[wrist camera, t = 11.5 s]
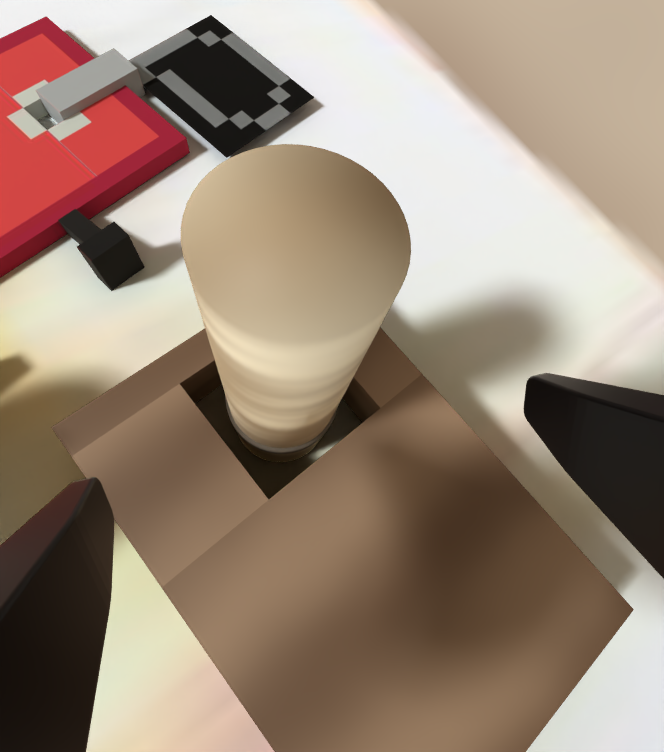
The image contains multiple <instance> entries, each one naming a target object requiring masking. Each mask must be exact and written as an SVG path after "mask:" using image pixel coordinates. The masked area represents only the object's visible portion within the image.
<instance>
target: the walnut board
mask: <svg viewBox="0 0 664 752" xmlns="http://www.w3.org/2000/svg"><path fill="white" fill-rule="evenodd" d="M221 385H222V382H221V379H220V375H219V372H218V369H217V365H216V362H215V359H214V355H213V352H212V349H211V346H210V342H209V339H208V336H207V332H206V329H203V330H202V331H200V332H199V333H197V334H196V335H194V336H193V337H191V338H189V339H188V340H186V341H185V342H183V343H182V344H180V345H179V346H177V347H175V348H174V349H172V350H171V351H169V352H168V353H166V354H165V355H163V356H161V357H160V358H158V359H157V360H155V361H154V362H152V363H151V364H149V365H147V366H146V367H144V368H143V369H141V370H140V371H138V372H136V373H135V374H133V375H132V376H130V377H129V378H127V379H126V380H124V381H122V382H121V383H119V384H118V385H116V386H115V387H113V388H112V389H110V390H108V391H107V392H105V393H104V394H102V395H101V396H99V397H98V398H96V399H94V400H93V401H91V402H90V403H88V404H87V405H85V406H84V407H82V408H80V409H79V410H77V411H76V412H74V413H73V414H71V415H70V416H68V417H66V418H65V419H63V420H62V421H60V422H59V423H57V424H56V425H54V426H52V427H51V428H52V429H53V431H54V432H55V434H56V435H57V437H58V438H59V439H60V441H61V442H62V444H63V445H64V447H65V448H66V450H67V451H68V453H69V454H70V455H71V457H72V458H73V460H74V461H75V463H76V464H77V466H78V467H79V468H80V470H81V471H82V473H83V474H84V476H85V477H86V478H90V477H96V478H98V479H99V480H100V482H101V484H102V486H103V489H104V491H105V494H106V496H107V499H108V501H109V503H110V506H111V508H112V511H113V515H114V519H115V521H116V522H117V524H118V525H119V527H120V528H121V529H122V531H123V532H124V534H125V535H126V537H127V538H128V540H129V541H130V542H131V544H132V545H133V547H134V548H135V550H136V551H137V553H138V554H139V556H140V557H141V558H142V560H143V561H144V563H145V564H146V566H147V567H148V569H149V570H150V571H151V573H152V574H153V576H154V577H155V579H156V580H157V582H158V583H159V585H160V586H161V587H162V589H163V590H164V592H165V593H166V595H167V596H168V598H169V599H170V600H171V602H172V603H173V605H174V606H175V608H176V609H177V611H178V612H179V614H180V615H181V616H182V618H183V619H184V621H185V622H186V624H187V625H188V627H189V628H190V629H191V631H192V632H193V634H194V635H195V637H196V638H197V640H198V641H199V643H200V644H201V645H202V647H203V648H204V650H205V651H206V653H207V654H208V656H209V657H210V659H211V660H212V661H213V663H214V664H215V666H216V667H217V669H218V670H219V672H220V673H221V674H222V676H223V677H224V679H225V680H226V682H227V683H228V685H229V686H230V688H231V689H232V690H233V692H234V693H235V695H236V696H237V698H238V699H239V701H240V702H241V703H242V705H243V706H244V708H245V709H246V711H247V712H248V714H249V715H250V717H251V718H252V719H253V721H254V722H255V724H256V725H257V727H258V728H259V730H260V731H261V732H262V734H263V735H264V737H265V738H266V740H267V741H268V743H269V744H270V746H271V747H272V748H273V750H274V751H275V752H526V751H527V749H528V748H529V747H530V745H531V744H532V743H533V741H534V740H535V739H536V737H537V736H538V735H539V733H540V732H541V731H542V730H543V728H544V727H545V726H546V724H547V723H548V722H549V720H550V719H551V718H552V716H553V715H554V714H555V712H556V711H557V710H558V708H559V707H560V706H561V705H562V703H563V702H564V701H565V699H566V698H567V697H568V695H569V694H570V693H571V691H572V690H573V689H574V687H575V686H576V685H577V684H578V682H579V681H580V680H581V678H582V677H583V676H584V674H585V673H586V672H587V670H588V669H589V668H590V666H591V665H592V664H593V662H594V661H595V660H596V659H597V657H598V656H599V655H600V653H601V652H602V651H603V649H604V648H605V647H606V645H607V644H608V643H609V641H610V640H611V639H612V638H613V636H614V635H615V634H616V632H617V631H618V630H619V628H620V627H621V626H622V624H623V623H624V622H625V620H626V619H627V618H628V616H629V615H630V614H631V613H632V611H633V610H634V609H633V608H632V607H631V606H630V605H629V604H628V603H627V602H626V600H625V599H624V598H623V597H622V596H621V595H620V594H619V593H618V592H617V590H616V589H615V588H614V587H613V586H612V585H611V584H610V583H609V582H608V580H607V579H606V578H605V577H604V576H603V575H602V574H601V573H600V571H599V570H598V569H597V568H596V567H595V566H594V565H593V564H592V563H591V561H590V560H589V559H588V558H587V557H586V556H585V555H584V554H583V553H582V551H581V550H580V549H579V548H578V547H577V546H576V545H575V544H574V543H573V541H572V540H571V539H570V538H569V537H568V536H567V535H566V534H565V533H564V531H563V530H562V529H561V528H560V527H559V526H558V525H557V524H556V522H555V521H554V520H553V519H552V518H551V517H550V516H549V515H548V514H547V512H546V511H545V510H544V509H543V508H542V507H541V506H540V505H539V504H538V502H537V501H536V500H535V499H534V498H533V497H532V496H531V495H530V494H529V492H528V491H527V490H526V489H525V488H524V487H523V486H522V485H521V484H520V482H519V481H518V480H517V479H516V478H515V477H514V476H513V475H512V474H511V472H510V471H509V470H508V469H507V468H506V467H505V466H504V465H503V463H502V462H501V461H500V460H499V459H498V458H497V457H496V456H495V455H494V453H493V452H492V451H491V450H490V449H489V448H488V447H487V446H486V445H485V443H484V442H483V441H482V440H481V439H480V438H479V437H478V436H477V435H476V433H475V432H474V431H473V430H472V429H471V428H470V427H469V426H468V425H467V423H466V422H465V421H464V420H463V419H462V418H461V417H460V416H459V414H458V413H457V412H456V411H455V410H454V409H453V408H452V407H451V406H450V404H449V403H448V402H447V401H446V400H445V399H444V398H443V397H442V396H441V394H440V393H439V392H438V391H437V390H436V389H435V388H434V387H433V386H432V384H431V383H430V382H429V381H428V380H427V379H426V378H425V377H424V376H423V374H422V373H421V372H420V371H419V370H418V369H417V368H416V367H415V365H414V364H413V363H412V362H411V361H410V360H409V359H408V358H407V357H406V355H405V354H404V353H403V352H402V351H401V350H400V349H399V348H398V347H397V345H396V344H395V343H394V342H393V341H392V340H391V339H390V338H389V337H388V335H387V334H386V333H385V332H384V331H383V330H382V329H381V328H379V330H378V332H377V334H376V335H375V337H374V339H373V341H372V343H371V345H370V347H369V349H368V350H367V352H366V354H365V356H364V358H363V360H362V362H361V364H360V365H359V367H358V369H357V371H356V373H355V375H354V377H353V379H352V380H351V382H350V384H349V386H348V388H347V390H346V392H345V394H344V395H343V397H342V399H343V400H344V401H345V402H346V403H347V405H348V406H349V407H350V408H351V409H352V411H353V412H354V413H355V414H356V415H357V416H358V418H359V419H360V420H361V421H362V422H363V423H362V424H360V425H359V426H358V427H357V428H356V429H354V430H353V431H352V432H351V433H349V434H348V435H347V436H346V437H345V438H343V439H342V440H341V441H340V442H338V443H337V444H336V445H335V446H334V447H332V448H331V449H330V450H329V451H327V452H326V453H325V454H324V455H323V456H321V457H320V458H319V459H318V460H316V461H315V462H314V463H313V464H312V465H310V466H309V467H308V468H307V469H306V470H304V471H303V472H302V473H301V474H299V475H298V476H297V477H296V478H295V479H293V480H292V481H291V482H290V483H288V484H287V485H286V486H285V487H284V488H282V489H281V490H280V491H279V492H277V493H276V494H275V495H274V496H273V497H271V498H270V499H268V498H267V497H266V496H265V494H264V493H263V492H262V490H261V489H260V488H259V486H258V485H257V484H256V483H255V481H254V480H253V479H252V477H251V476H250V475H249V473H248V472H247V471H246V470H245V468H244V467H243V466H242V464H241V463H240V462H239V460H238V459H237V458H236V457H235V455H234V454H233V453H232V451H231V450H230V449H229V448H228V446H227V445H226V444H225V442H224V441H223V440H222V438H221V437H220V436H219V435H218V433H217V432H216V431H215V429H214V428H213V427H212V425H211V424H210V423H209V422H208V420H207V419H206V418H205V416H204V415H203V414H202V412H201V411H200V410H199V409H198V407H197V406H196V405H195V403H196V402H198V401H199V400H201V399H202V398H204V397H205V396H206V395H208V394H209V393H211V392H212V391H214V390H215V389H216V388H218V387H219V386H221Z"/></svg>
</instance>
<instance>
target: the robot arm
mask: <svg viewBox="0 0 664 752" xmlns="http://www.w3.org/2000/svg"><path fill="white" fill-rule="evenodd" d="M524 414H525V417H526V419H527V421H528V422H529V423H530V425H531V426H532V427H533V429H534V430H535V431H536V433H537V434H538V435H539V437H540V438H541V439H542V441H543V442H544V443H545V445H546V446H547V448H548V449H549V450H550V452H551V453H552V454H553V456H554V457H555V458H556V460H557V461H558V462H559V463H560V465H561V466H562V467H563V469H564V470H565V471H566V472H567V473H568V474H569V476H570V477H571V478H572V479H573V480H574V481H575V482H576V483H577V485H578V486H579V487H580V488H581V489H582V490H583V491H584V492H585V493H586V494H587V495H588V497H589V498H590V499H591V500H592V501H593V502H594V503H595V504H596V505H597V506H598V507H599V509H600V510H601V511H602V512H603V513H604V514H605V515H606V516H607V517H608V518H609V519H610V521H611V522H612V523H613V524H614V525H615V526H616V527H617V528H618V529H619V530H620V531H621V533H622V534H623V535H624V536H625V537H626V538H627V539H628V540H629V541H630V542H631V543H632V545H633V546H634V547H635V548H636V549H637V550H638V551H639V552H640V553H641V554H642V556H643V557H644V558H645V559H646V560H647V561H648V562H649V563H650V564H651V565H652V566H653V568H654V569H655V570H656V571H657V572H658V573H659V574H660V575H661V576H662V577H663V578H664V395H659V394H654V393H649V392H644V391H639V390H633V389H628V388H623V387H618V386H613V385H607V384H602V383H597V382H592V381H587V380H581V379H576V378H571V377H566V376H561V375H555V374H550V373H544V374H539V375H535V376H532V377H530V378H529V379H528V381H527V384H526V392H525V401H524ZM113 542H114V515H113V511H112V508H111V506H110V503H109V501H108V499H107V496H106V494H105V491H104V489H103V486H102V484H101V482H100V480H99V479H98V478H96V477H90V478H86V479H81V480H77V481H74V482H72V483H70V484H69V485H68V486H67V487H66V488H65V489H64V490H62V491H61V492H60V493H59V494H58V495H57V496H56V497H55V498H53V499H52V500H51V501H50V502H49V503H48V504H47V505H46V506H44V507H43V508H42V509H41V510H40V511H39V512H38V513H37V514H35V515H34V516H33V517H32V518H31V519H30V520H29V521H28V522H26V523H25V524H24V525H23V526H22V527H21V528H20V529H19V530H17V531H16V532H15V533H14V534H13V535H12V536H11V537H10V538H8V539H7V540H6V541H5V542H4V543H3V544H2V545H1V546H0V752H86V748H87V742H88V736H89V730H90V724H91V718H92V712H93V706H94V700H95V694H96V688H97V682H98V676H99V670H100V664H101V658H102V652H103V646H104V640H105V634H106V628H107V622H108V616H109V609H110V602H111V590H112V567H113Z"/></svg>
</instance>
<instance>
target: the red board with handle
mask: <svg viewBox="0 0 664 752" xmlns="http://www.w3.org/2000/svg"><path fill="white" fill-rule="evenodd" d="M143 86H144V87H145V88H146V89H148V90H149V91H150V92H151V93H152V94H153V95H154V96H156V97H157V98H158V99H159V100H160V101H161V102H163V103H164V104H165V105H166V106H167V107H168V108H170V109H171V110H172V111H173V112H174V113H175V114H177V115H178V116H179V117H180V118H181V119H182V120H184V121H185V122H186V123H187V124H188V125H189V126H191V127H192V128H193V129H194V130H195V131H196V132H198V133H199V134H200V135H201V136H202V137H203V138H205V139H206V140H207V141H208V142H209V143H210V144H211V145H213V146H214V147H215V148H216V149H217V150H218V151H220V152H221V153H222V154H223V155H224V156H225V157H228V156H230V155H231V154H233V153H234V152H236V151H237V150H239V149H240V148H242V147H243V146H244V145H246V144H247V143H249V142H250V141H252V140H253V139H255V138H256V137H257V136H259V135H260V134H262V133H263V132H265V131H266V130H268V129H269V128H270V127H272V126H273V125H275V124H276V123H278V122H279V121H281V120H282V119H284V118H285V117H286V116H288V115H289V114H291V113H292V112H294V111H295V110H297V109H298V108H299V107H301V106H302V105H304V104H305V103H307V102H308V101H310V100H311V99H313V98H314V97H313V96H312V95H311V94H309V93H308V92H307V91H306V90H304V89H303V88H302V87H301V86H299V85H298V84H297V83H296V82H294V81H293V80H292V79H291V78H289V77H288V76H287V75H286V74H284V73H283V72H282V71H281V70H279V69H278V68H277V67H276V66H274V65H273V64H272V63H271V62H269V61H268V60H267V59H266V58H264V57H263V56H262V55H261V54H259V53H258V52H257V51H255V50H254V49H253V48H252V47H250V46H249V45H248V44H247V43H245V42H244V41H243V40H242V39H240V38H239V37H238V36H237V35H235V34H234V33H233V32H232V31H230V30H229V29H228V28H227V27H225V26H224V25H223V24H222V23H220V22H219V21H218V20H217V19H215V18H214V17H213V16H212V15H210V16H209V17H207V18H205V19H203V20H201V21H199V22H198V23H196V24H194V25H192V26H190V27H189V28H187V29H185V30H183V31H181V32H180V33H178V34H176V35H174V36H172V37H170V38H169V39H167V40H165V41H163V42H161V43H160V44H158V45H156V46H154V47H152V48H151V49H149V50H147V51H145V52H143V53H141V54H140V55H138V56H136V57H134V58H132V59H131V60H129V61H128V60H127V59H126V58H125V57H123V56H122V55H121V54H120V53H119V52H118V51H116V50H115V49H114V48H113V49H112V50H110V51H108V52H106V53H104V54H102V55H100V56H98V57H97V58H94V57H92V56H91V55H90V54H89V53H88V52H87V51H85V50H84V49H83V48H82V47H81V46H80V45H79V44H77V43H76V42H75V41H74V40H73V39H72V38H70V37H69V36H68V35H67V34H66V33H65V32H64V31H62V30H61V29H60V28H59V27H58V26H57V25H55V24H54V23H53V22H52V21H51V20H50V19H49V18H47V17H44V18H42V19H40V20H38V21H36V22H34V23H32V24H29V25H27V26H25V27H23V28H21V29H19V30H17V31H15V32H13V33H11V34H9V35H7V36H5V37H2V38H0V278H1V277H2V276H4V275H5V274H7V273H8V272H10V271H11V270H13V269H14V268H16V267H18V266H19V265H21V264H22V263H24V262H25V261H27V260H28V259H30V258H31V257H33V256H35V255H36V254H38V253H39V252H41V251H42V250H44V249H45V248H47V247H48V246H50V245H51V244H53V243H54V242H56V241H57V240H59V239H60V238H62V237H63V236H65V235H66V234H69V235H70V236H71V237H72V238H73V239H74V240H75V241H77V242H78V243H79V244H80V245H79V246H77V248H78V250H79V251H80V252H81V254H82V255H83V257H84V258H85V260H86V261H87V262H88V264H89V265H90V267H91V268H92V270H93V271H94V272H95V274H96V275H97V277H98V278H99V279H100V280H101V281H102V282H103V283H104V284H105V285H106V286H107V287H108V288H109V289H110V290H111V291H112V290H114V289H115V288H116V287H118V286H119V285H121V284H122V283H123V282H125V281H126V280H128V279H129V278H130V277H132V276H133V275H134V274H136V273H137V272H139V271H140V270H141V269H143V268H144V265H143V263H142V261H141V259H140V257H139V255H138V253H137V251H136V249H135V247H134V245H133V243H132V241H131V239H130V237H129V235H128V234H127V233H126V232H125V231H124V230H122V229H121V228H120V227H119V226H118V225H117V224H116V223H115V222H113V223H111V224H110V225H108V226H107V227H105V228H104V229H102V230H101V229H100V228H98V227H97V226H96V225H95V224H94V223H92V222H91V221H90V220H89V219H90V218H92V217H93V216H95V215H96V214H98V213H99V212H101V211H102V210H104V209H105V208H107V207H108V206H110V205H111V204H113V203H114V202H116V201H117V200H119V199H121V198H122V197H124V196H125V195H127V194H128V193H130V192H131V191H133V190H134V189H136V188H137V187H139V186H140V185H142V184H143V183H145V182H146V181H148V180H149V179H151V178H152V177H154V176H155V175H157V174H158V173H160V172H161V171H163V170H164V169H166V168H167V167H169V166H170V165H172V164H173V163H175V162H176V161H178V160H179V159H181V158H182V157H184V156H185V155H187V154H188V153H190V151H189V147H188V143H187V139H186V137H185V136H183V135H182V134H181V133H180V132H179V131H178V130H177V129H175V128H174V127H173V126H172V125H171V124H170V123H168V122H167V121H166V120H165V119H164V118H163V117H162V116H160V115H159V114H158V113H157V112H156V111H155V110H153V109H152V108H151V107H150V106H149V105H148V104H147V103H145V102H144V101H143V100H142V99H141V98H140V97H141V96H143V95H145V92H144V89H143ZM48 114H49V115H50V116H51V117H52V118H53V119H54V120H55V121H56V122H57V123H58V124H57V125H55V126H53V127H51V128H50V129H48V130H47V129H46V128H45V127H44V126H43V125H42V124H41V123H39V122H38V121H37V120H39V119H41V118H43V117H45V116H47V115H48Z"/></svg>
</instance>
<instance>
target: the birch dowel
mask: <svg viewBox="0 0 664 752" xmlns="http://www.w3.org/2000/svg"><path fill="white" fill-rule="evenodd" d="M181 246H182V252H183V257H184V260H185V263H186V267H187V270H188V273H189V276H190V280H191V283H192V286H193V290H194V293H195V296H196V299H197V303H198V306H199V309H200V313H201V316H202V319H203V323H204V326H205V329H206V332H207V336H208V339H209V342H210V346H211V349H212V352H213V355H214V359H215V362H216V365H217V369H218V372H219V375H220V379H221V382H222V385H223V388H224V392H225V398H226V407H227V411H228V414H229V417H230V420H231V422H232V424H233V427H234V428H235V430H236V431H237V434H238V436H239V438H240V440H241V442H242V443H243V445H244V446H245V447H246V448H247V449H248V450H249V451H250V452H251V453H253V454H254V455H256V456H257V457H259V458H262V459H264V460H267V461H272V462H288V461H293V460H296V459H298V458H300V457H302V456H304V455H306V454H307V453H309V452H310V451H311V450H312V449H313V448H314V447H315V446H316V445H317V443H318V442H319V440H320V439H321V437H322V436H323V435H324V434H325V433H326V432H327V430H328V429H329V427H330V425H331V424H332V422H333V420H334V417H335V415H336V412H337V408H338V405H339V403H340V401H341V399H342V397H343V395H344V394H345V392H346V390H347V388H348V386H349V384H350V382H351V380H352V379H353V377H354V375H355V373H356V371H357V369H358V367H359V365H360V364H361V362H362V360H363V358H364V356H365V354H366V352H367V350H368V349H369V347H370V345H371V343H372V341H373V339H374V337H375V335H376V334H377V332H378V330H379V328H380V326H381V324H382V322H383V320H384V319H385V317H386V315H387V313H388V311H389V309H390V307H391V305H392V304H393V302H394V300H395V298H396V296H397V294H398V292H399V290H400V289H401V286H402V284H403V282H404V280H405V277H406V275H407V271H408V268H409V264H410V255H411V242H410V234H409V229H408V225H407V222H406V219H405V216H404V214H403V212H402V210H401V208H400V206H399V204H398V202H397V201H396V199H395V198H394V196H393V195H392V193H391V192H390V191H389V190H388V189H387V188H386V186H385V185H384V184H383V183H382V182H381V181H380V180H379V179H378V178H377V177H376V176H374V175H373V174H372V173H371V172H369V171H368V170H367V169H365V168H364V167H363V166H361V165H359V164H357V163H356V162H354V161H352V160H351V159H348V158H346V157H344V156H342V155H340V154H337V153H334V152H331V151H328V150H325V149H321V148H317V147H312V146H305V145H292V144H281V145H270V146H264V147H259V148H255V149H252V150H248V151H245V152H242V153H240V154H238V155H236V156H233V157H231V158H229V159H228V160H226V161H224V162H223V163H221V164H219V165H218V166H217V167H216V168H214V169H213V170H212V171H210V172H209V173H208V174H207V175H206V176H205V177H204V178H203V179H202V180H201V181H200V183H199V184H198V186H197V187H196V188H195V190H194V191H193V193H192V195H191V197H190V198H189V200H188V202H187V205H186V208H185V211H184V214H183V218H182V224H181Z"/></svg>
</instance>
